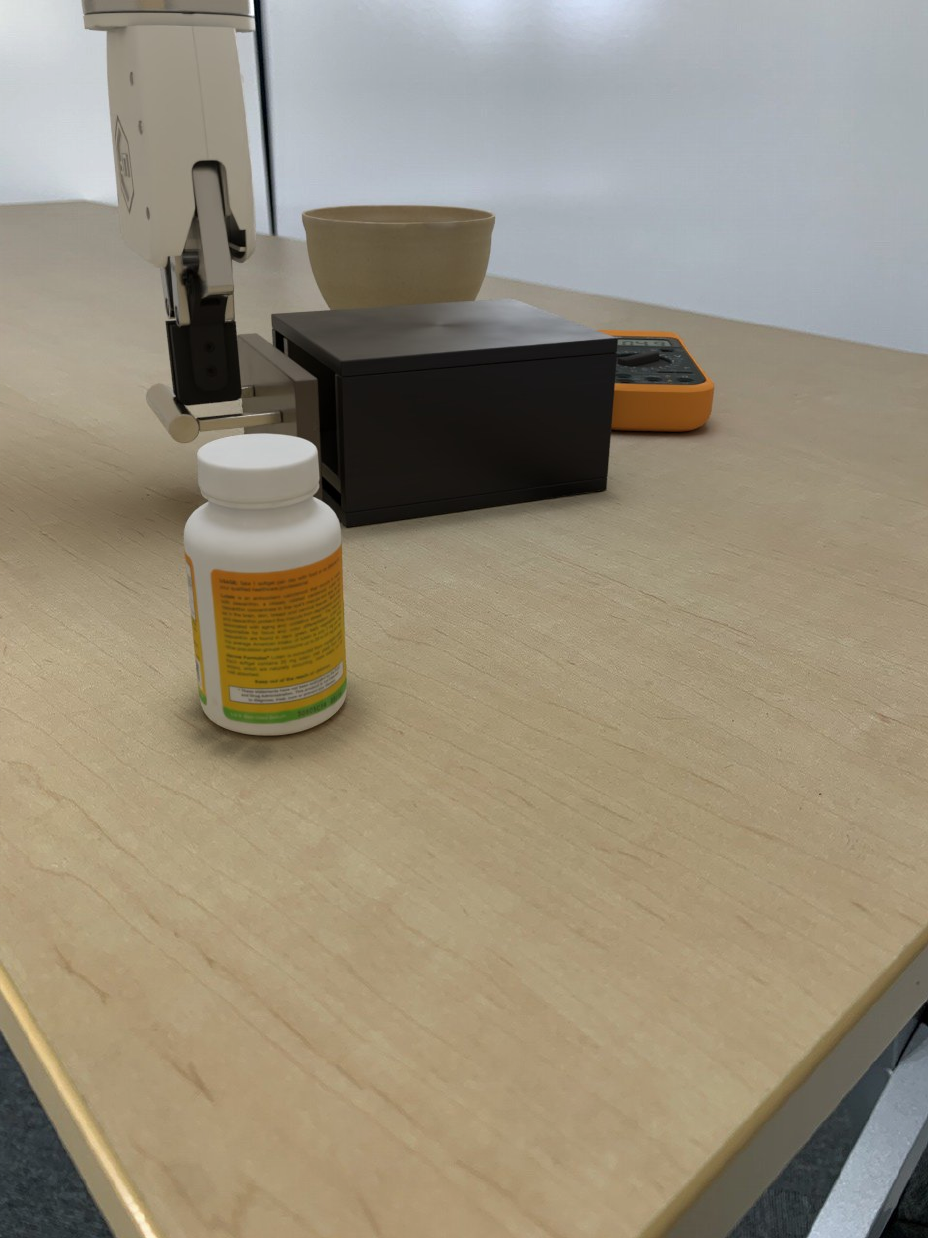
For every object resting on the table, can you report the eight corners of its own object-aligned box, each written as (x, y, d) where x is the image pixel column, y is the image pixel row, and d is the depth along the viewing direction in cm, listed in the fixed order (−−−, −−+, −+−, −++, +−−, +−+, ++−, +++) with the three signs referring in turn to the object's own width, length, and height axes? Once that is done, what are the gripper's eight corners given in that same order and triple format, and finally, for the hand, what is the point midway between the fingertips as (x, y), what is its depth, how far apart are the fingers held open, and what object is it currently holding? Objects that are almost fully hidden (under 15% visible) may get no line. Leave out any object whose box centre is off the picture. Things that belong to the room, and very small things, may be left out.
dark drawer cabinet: (346, 527, 57) (341, 361, 53) (279, 457, 67) (270, 313, 63) (606, 490, 63) (618, 337, 59) (508, 431, 73) (513, 297, 69)
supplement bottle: (377, 700, 41) (372, 449, 37) (263, 758, 37) (243, 487, 33) (284, 653, 44) (269, 417, 40) (170, 702, 41) (141, 448, 36)
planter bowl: (519, 335, 100) (524, 208, 96) (442, 372, 87) (443, 227, 82) (365, 318, 106) (362, 198, 102) (271, 350, 93) (263, 214, 88)
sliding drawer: (187, 528, 54) (174, 391, 51) (146, 460, 63) (132, 341, 60) (551, 479, 62) (558, 357, 59) (467, 425, 71) (469, 317, 68)
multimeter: (585, 434, 73) (589, 382, 71) (568, 369, 89) (571, 326, 87) (715, 437, 72) (722, 385, 71) (675, 372, 89) (679, 328, 87)
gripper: (60, 1, 54) (111, 375, 62) (107, -22, 42) (163, 447, 50) (212, 6, 57) (242, 362, 65) (298, -15, 45) (322, 428, 53)
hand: (208, 398), depth 57 cm, fingers closed
